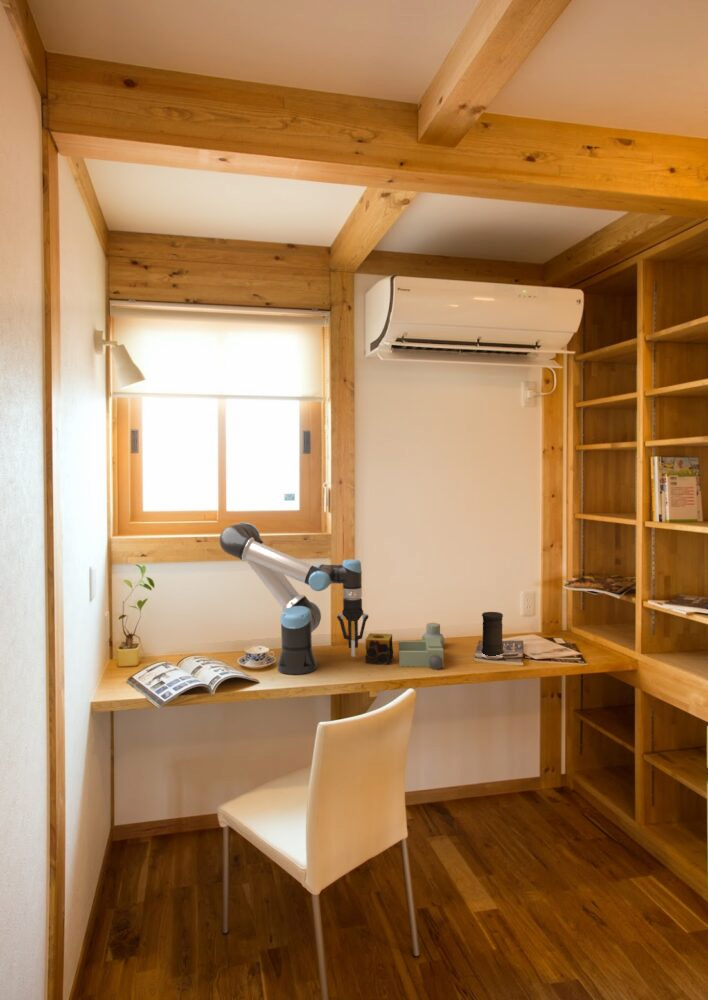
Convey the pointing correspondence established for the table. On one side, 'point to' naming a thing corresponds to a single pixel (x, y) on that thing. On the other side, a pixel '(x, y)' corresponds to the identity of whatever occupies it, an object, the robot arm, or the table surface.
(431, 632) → the air freshener
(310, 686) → the table surface
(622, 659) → the table surface
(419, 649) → the green toy truck
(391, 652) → the olive cube with hole
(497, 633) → the container
